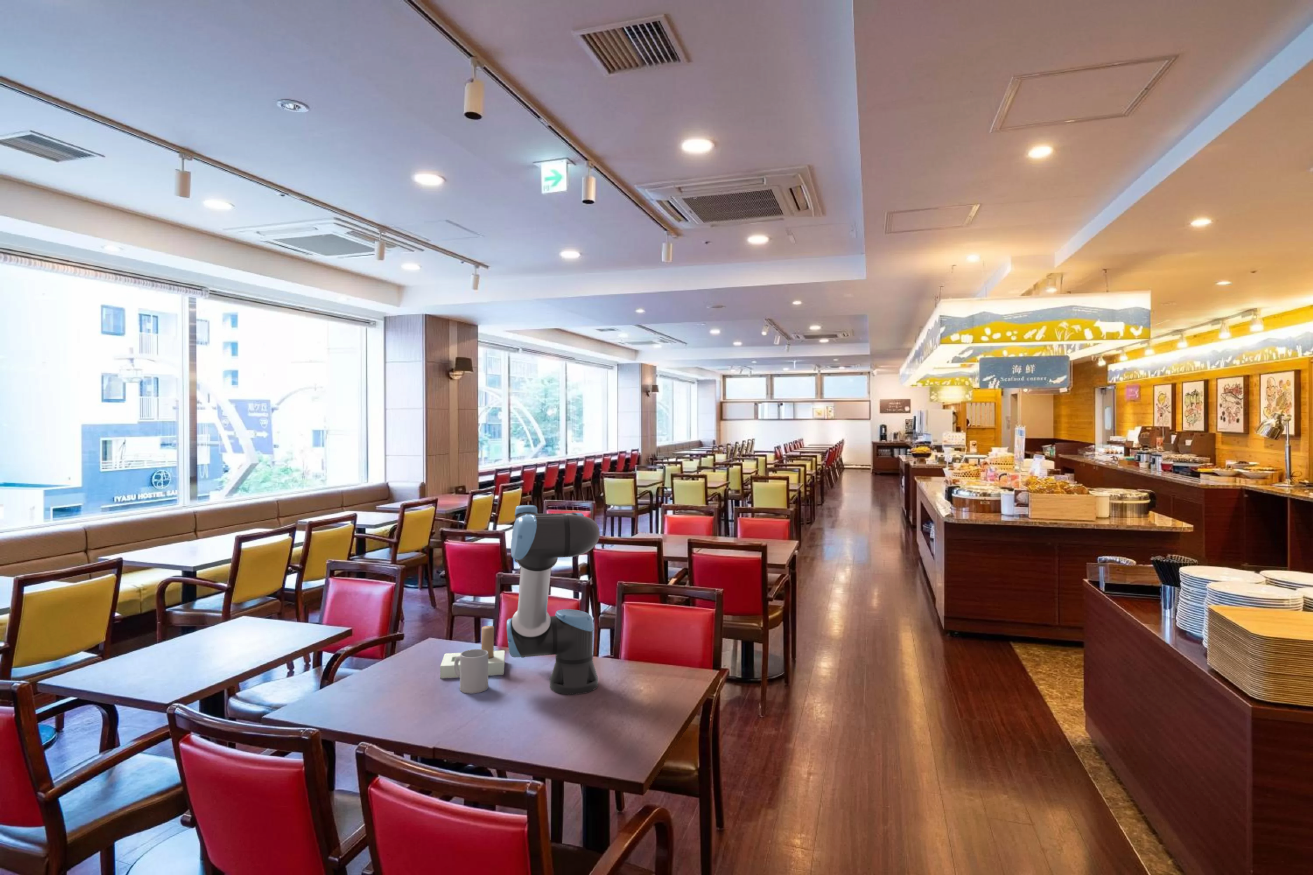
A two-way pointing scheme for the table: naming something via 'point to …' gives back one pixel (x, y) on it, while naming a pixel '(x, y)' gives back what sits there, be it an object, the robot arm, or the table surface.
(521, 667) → the table surface
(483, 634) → the cream base with post
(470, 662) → the mug
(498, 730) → the table surface
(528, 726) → the table surface
